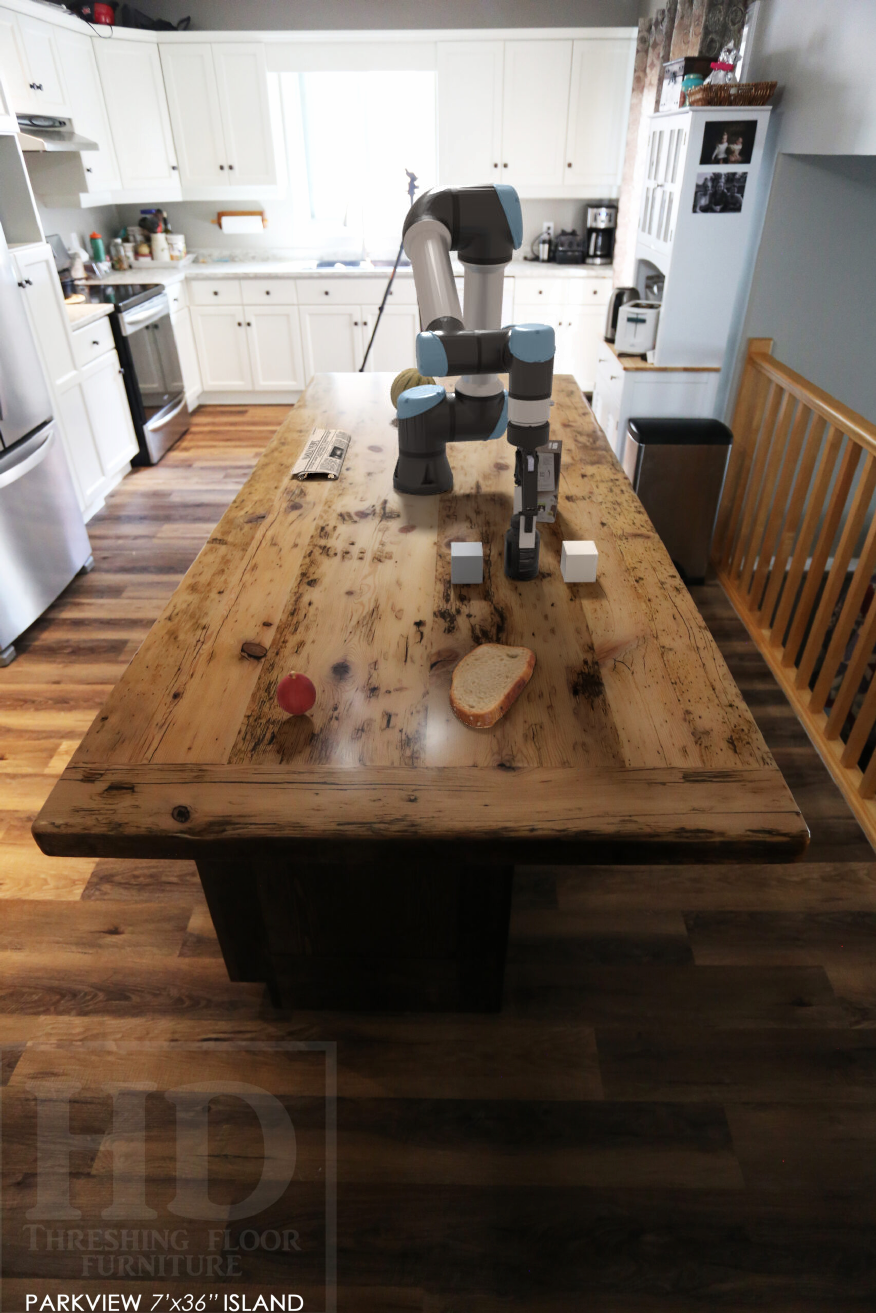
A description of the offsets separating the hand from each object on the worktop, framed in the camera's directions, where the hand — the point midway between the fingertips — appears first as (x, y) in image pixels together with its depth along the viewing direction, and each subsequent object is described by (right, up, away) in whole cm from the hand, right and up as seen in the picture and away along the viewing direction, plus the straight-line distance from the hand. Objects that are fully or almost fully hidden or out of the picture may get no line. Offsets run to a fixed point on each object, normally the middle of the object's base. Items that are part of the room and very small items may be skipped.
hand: (523, 532), depth 145 cm
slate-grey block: (-11, -8, +5) cm, 14 cm away
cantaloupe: (-24, +51, +94) cm, 110 cm away
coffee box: (+8, +9, +30) cm, 32 cm away
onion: (-37, -33, -31) cm, 58 cm away
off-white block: (+11, -8, +5) cm, 14 cm away
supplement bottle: (0, -8, +5) cm, 9 cm away
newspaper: (-48, +31, +65) cm, 87 cm away
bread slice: (-7, -29, -25) cm, 39 cm away
